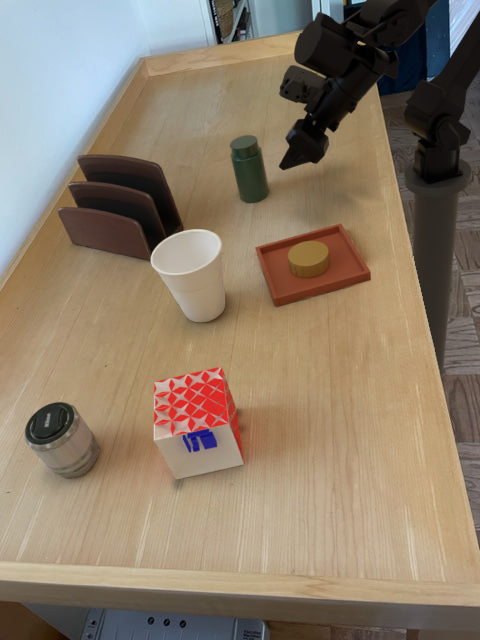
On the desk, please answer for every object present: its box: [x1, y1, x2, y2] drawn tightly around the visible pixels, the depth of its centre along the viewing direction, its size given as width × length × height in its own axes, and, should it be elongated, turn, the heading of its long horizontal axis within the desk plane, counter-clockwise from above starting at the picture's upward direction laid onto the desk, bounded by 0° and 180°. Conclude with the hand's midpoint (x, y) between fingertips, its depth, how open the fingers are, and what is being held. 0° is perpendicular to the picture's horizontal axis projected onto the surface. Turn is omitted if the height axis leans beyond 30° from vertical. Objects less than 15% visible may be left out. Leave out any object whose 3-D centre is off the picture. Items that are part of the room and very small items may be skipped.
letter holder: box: [56, 153, 184, 261], centre depth 93 cm, size 10×20×14 cm, turn 60°
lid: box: [288, 241, 330, 278], centre depth 80 cm, size 6×6×2 cm
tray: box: [254, 222, 372, 307], centre depth 81 cm, size 14×13×2 cm
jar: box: [229, 134, 270, 204], centre depth 96 cm, size 6×6×11 cm
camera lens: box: [24, 401, 100, 479], centre depth 62 cm, size 6×6×8 cm
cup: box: [150, 228, 226, 323], centre depth 76 cm, size 10×10×11 cm
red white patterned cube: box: [153, 366, 245, 480], centre depth 60 cm, size 8×8×8 cm
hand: (288, 154), depth 91 cm, fingers open, 9 cm apart
